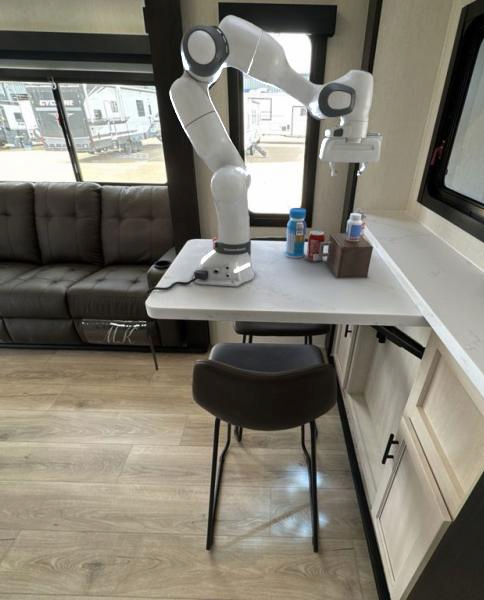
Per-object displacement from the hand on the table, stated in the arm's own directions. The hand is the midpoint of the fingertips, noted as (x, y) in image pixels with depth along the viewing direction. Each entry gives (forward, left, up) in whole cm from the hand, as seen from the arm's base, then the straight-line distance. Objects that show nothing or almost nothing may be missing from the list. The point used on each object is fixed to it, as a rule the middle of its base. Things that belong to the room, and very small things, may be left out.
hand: (346, 176), depth 107 cm
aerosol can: (+13, +16, -35) cm, 41 cm away
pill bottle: (+5, -2, -23) cm, 23 cm away
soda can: (-6, +9, -35) cm, 37 cm away
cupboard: (+5, -2, -35) cm, 35 cm away
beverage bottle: (-14, +14, -35) cm, 41 cm away
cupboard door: (-3, -2, -35) cm, 35 cm away
